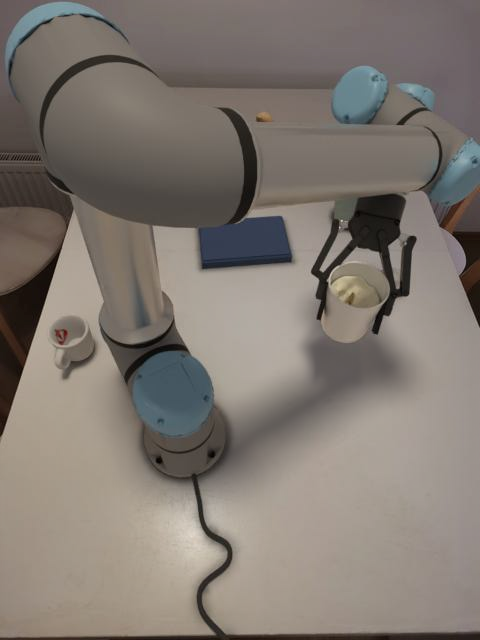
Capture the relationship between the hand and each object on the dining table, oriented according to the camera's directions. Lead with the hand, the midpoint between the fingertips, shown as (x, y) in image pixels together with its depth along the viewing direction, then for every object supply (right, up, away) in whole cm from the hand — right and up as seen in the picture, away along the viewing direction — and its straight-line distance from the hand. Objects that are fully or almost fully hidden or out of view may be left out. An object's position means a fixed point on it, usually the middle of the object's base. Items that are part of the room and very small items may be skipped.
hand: (346, 325), depth 74 cm
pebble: (+16, +9, +29) cm, 34 cm away
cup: (-53, -7, +17) cm, 56 cm away
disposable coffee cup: (+10, +28, +41) cm, 50 cm away
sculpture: (-8, +44, +51) cm, 68 cm away
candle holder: (+1, 0, +5) cm, 5 cm away
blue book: (-17, +20, +35) cm, 44 cm away
